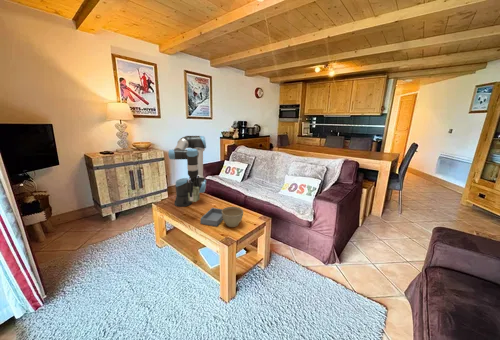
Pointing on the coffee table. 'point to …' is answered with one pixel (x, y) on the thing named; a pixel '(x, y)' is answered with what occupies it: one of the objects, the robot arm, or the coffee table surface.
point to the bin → (212, 217)
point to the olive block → (195, 194)
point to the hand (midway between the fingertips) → (194, 198)
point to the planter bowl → (232, 216)
